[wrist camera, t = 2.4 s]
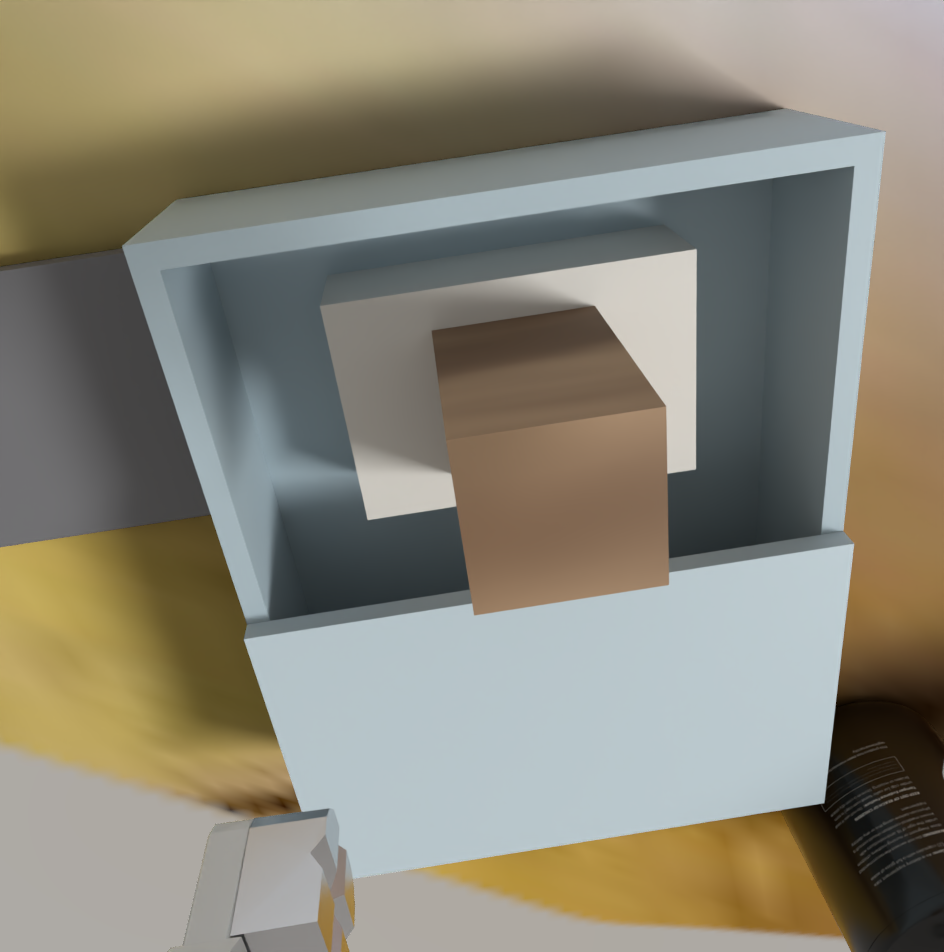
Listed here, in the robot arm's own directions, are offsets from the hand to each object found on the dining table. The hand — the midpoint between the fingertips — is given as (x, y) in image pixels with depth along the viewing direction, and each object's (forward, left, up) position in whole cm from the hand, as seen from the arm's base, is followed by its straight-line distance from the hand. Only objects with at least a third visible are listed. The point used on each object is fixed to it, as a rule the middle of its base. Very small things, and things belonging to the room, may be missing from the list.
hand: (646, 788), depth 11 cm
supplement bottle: (+19, +12, -16) cm, 28 cm away
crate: (+4, 0, -16) cm, 16 cm away
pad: (-1, -12, -16) cm, 20 cm away
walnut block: (0, 0, -12) cm, 12 cm away
